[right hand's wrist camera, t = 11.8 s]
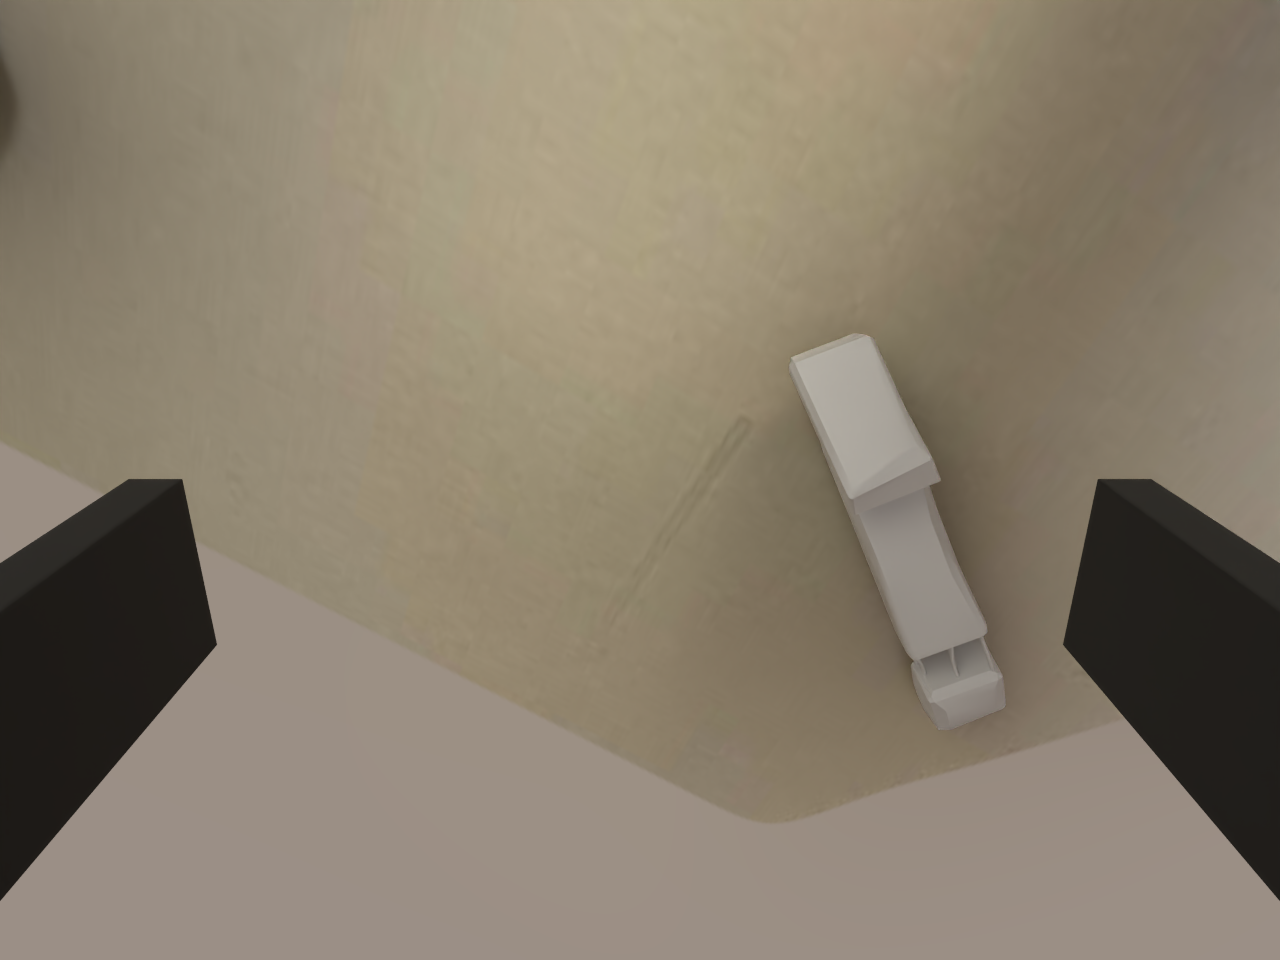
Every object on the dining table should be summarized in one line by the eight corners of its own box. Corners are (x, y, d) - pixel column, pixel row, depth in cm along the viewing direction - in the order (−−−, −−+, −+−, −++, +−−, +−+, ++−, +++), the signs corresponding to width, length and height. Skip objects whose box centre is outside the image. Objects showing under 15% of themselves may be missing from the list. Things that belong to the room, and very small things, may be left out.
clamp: (776, 352, 36) (810, 414, 30) (860, 315, 36) (912, 370, 29) (910, 685, 45) (958, 786, 39) (980, 660, 44) (1040, 758, 38)
